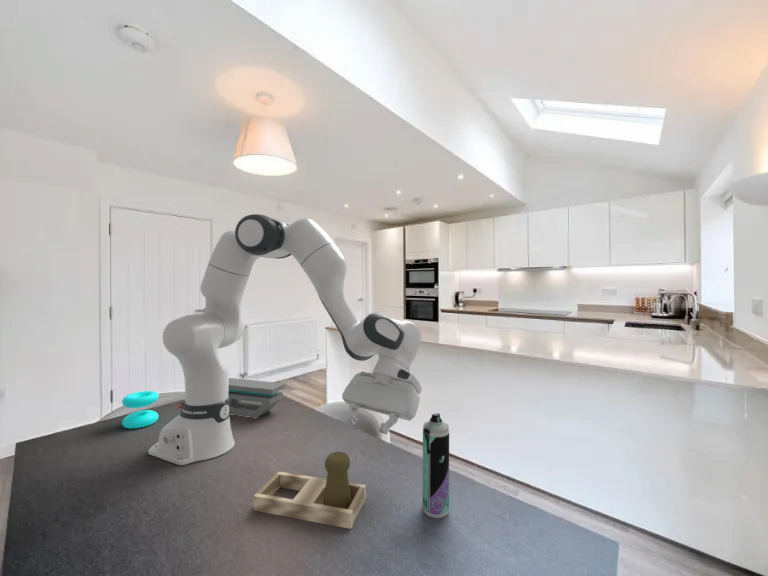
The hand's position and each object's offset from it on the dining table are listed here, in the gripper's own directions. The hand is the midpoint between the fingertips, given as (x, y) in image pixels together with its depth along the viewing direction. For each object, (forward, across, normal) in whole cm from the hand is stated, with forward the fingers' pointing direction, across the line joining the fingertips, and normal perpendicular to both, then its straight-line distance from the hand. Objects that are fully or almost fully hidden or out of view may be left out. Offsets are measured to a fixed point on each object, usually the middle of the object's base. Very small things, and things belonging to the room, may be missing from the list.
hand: (365, 427), depth 78 cm
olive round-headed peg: (+16, 0, +3) cm, 17 cm away
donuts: (+21, -84, -1) cm, 87 cm away
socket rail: (+18, -6, +1) cm, 19 cm away
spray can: (+8, +17, +11) cm, 22 cm away
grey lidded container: (+2, -63, +18) cm, 65 cm away
